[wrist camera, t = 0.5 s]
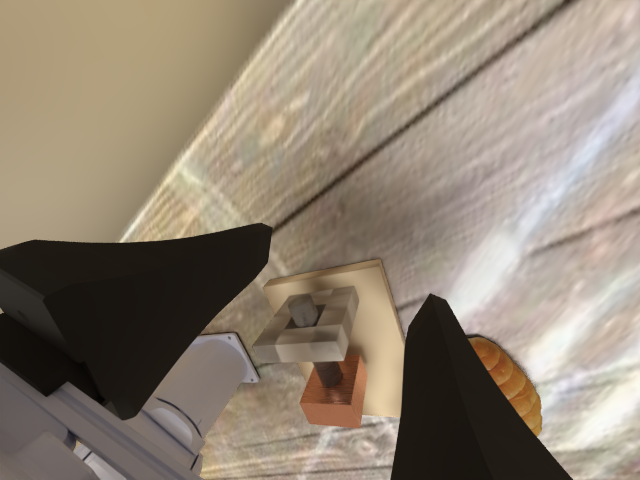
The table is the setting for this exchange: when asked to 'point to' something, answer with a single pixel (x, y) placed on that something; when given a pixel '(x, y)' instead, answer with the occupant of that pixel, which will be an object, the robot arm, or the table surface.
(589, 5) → the table surface
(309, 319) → the bolt
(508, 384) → the pastry
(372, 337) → the latch board
